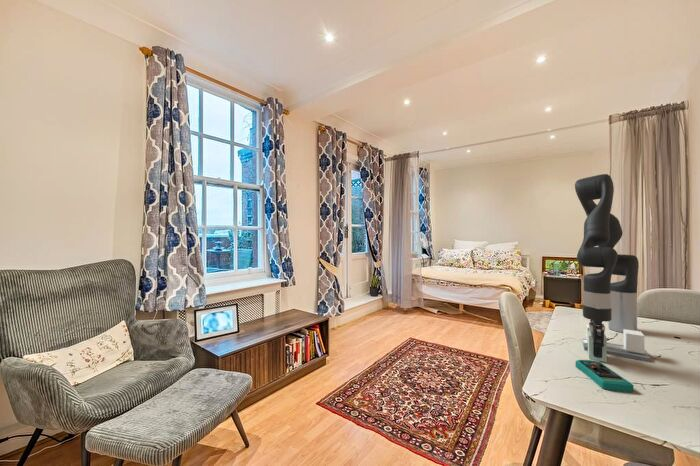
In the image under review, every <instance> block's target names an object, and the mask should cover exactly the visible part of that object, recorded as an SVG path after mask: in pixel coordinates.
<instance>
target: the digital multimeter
mask: <svg viewBox="0 0 700 466" xmlns="http://www.w3.org/2000/svg"><path fill="white" fill-rule="evenodd" d="M575 368H577V369H578V370H579V371H581V372H582V373H583V374H584V375H586V376H587V377H589V378H590V379H591V380H592V381H593V382H594V383H595V384H596V385H597V386H599V388H601V389H602V390H607V391H614V392H622V393H624V392H625V393H634V384H633V383H632V382H630V381H629V380H627V379H626V378H624V377H622V376H621V375H619V374H618V373H616V372H615V371H614V370H613V369H611V368H610V367H608V366H607V365H605V364H604V363H603V362H602V361H597V360H591V359H578V360H575Z"/></svg>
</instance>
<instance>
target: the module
mask: <svg viewBox="0 0 700 466" xmlns="http://www.w3.org/2000/svg"><path fill="white" fill-rule="evenodd" d="M604 336H605V339H604V347H602V358H597V357H594V355H593V338H592V337H591V332H590V331H588V351H587V357H588V360H592V361H598V362H601V363H607V361H608V360H607V359H608V358H607V355H608V354H607V343H608V342H607V336H606V334H605V333H604ZM596 342H599V343H601V340H596Z"/></svg>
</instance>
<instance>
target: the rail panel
mask: <svg viewBox="0 0 700 466" xmlns="http://www.w3.org/2000/svg"><path fill="white" fill-rule="evenodd" d="M585 325H586V328H585V329H586V332H585V333H586V338H582V345H583V350H584V351H586V352H588V331H590V327H589V323H586V324H585ZM622 333H623V344H617V343H612V342H611V343H610V342H607V355H610V356H615V357H620V358H625V359H632V360H636V361H642V362H648V363H651V357H650V356H649V353H648V351H646V349H645V334H644V333H643V332H642V331H639V330H637V331H634V330H627V329H623V332H622Z"/></svg>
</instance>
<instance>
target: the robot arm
mask: <svg viewBox="0 0 700 466" xmlns="http://www.w3.org/2000/svg"><path fill="white" fill-rule="evenodd" d="M614 188H615V186H614V181H613V179H612V177H611V176H610V175H609V174H608V173H602V174H597V175H592V176H588V177H584V178H580V179H578V180H576V181H575V183H574V189H575V193H576V196H577V198H578V200H579V202H580V205H581V206H582V209H583V211H584V212H585V214H586V218H585V221H584V223H583V239H582V242H581V245H580V247H579V249H578V252H577V255H576V260H577V262H578V264H579V265H580V266H582V267H587V268H603V269H602V270H601V271H600V272H596V273H595V272H594V273H587V274H585V275H584V277H583V293H582V294H583V295H582V316H583V318H585V319H587V320H589V321H590V322H588V324H589V327H590V332H591V337H592V338H593V355H594V357H597V358H602V347H604V339H605V336H606V335H605V336H604V334H605V331H606V326H605V324H604V323H603V322H605V323H606V322H607V323H608V326H607V328H608V329H610V330H612V331H614V332H618V333H623V329H627V330H634V331H638V284H639V283H638V282H639V281H638V280H639V259H638V257H637V256H636V255H633V254H621V253H620V254H618V252H617V251H616V249H615V246H616V245H617V244H618V243H619V242H620V240H621V238H622V236H623V228H622V225H621V223H620V220H619V219H618V217H616V215H614V214H613V213H611V211H612V208H613V207H612V205H613V202H614V201H613V199H614V192H615V191H614V190H615V189H614ZM594 200H599V202H598V203H597V204H596V203H595V201H594ZM612 275H614V276H622V277H625V279H623V280H620V281H617V282H616V281H614V282H611V281H612ZM596 340H601V343H599V342H596Z"/></svg>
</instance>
